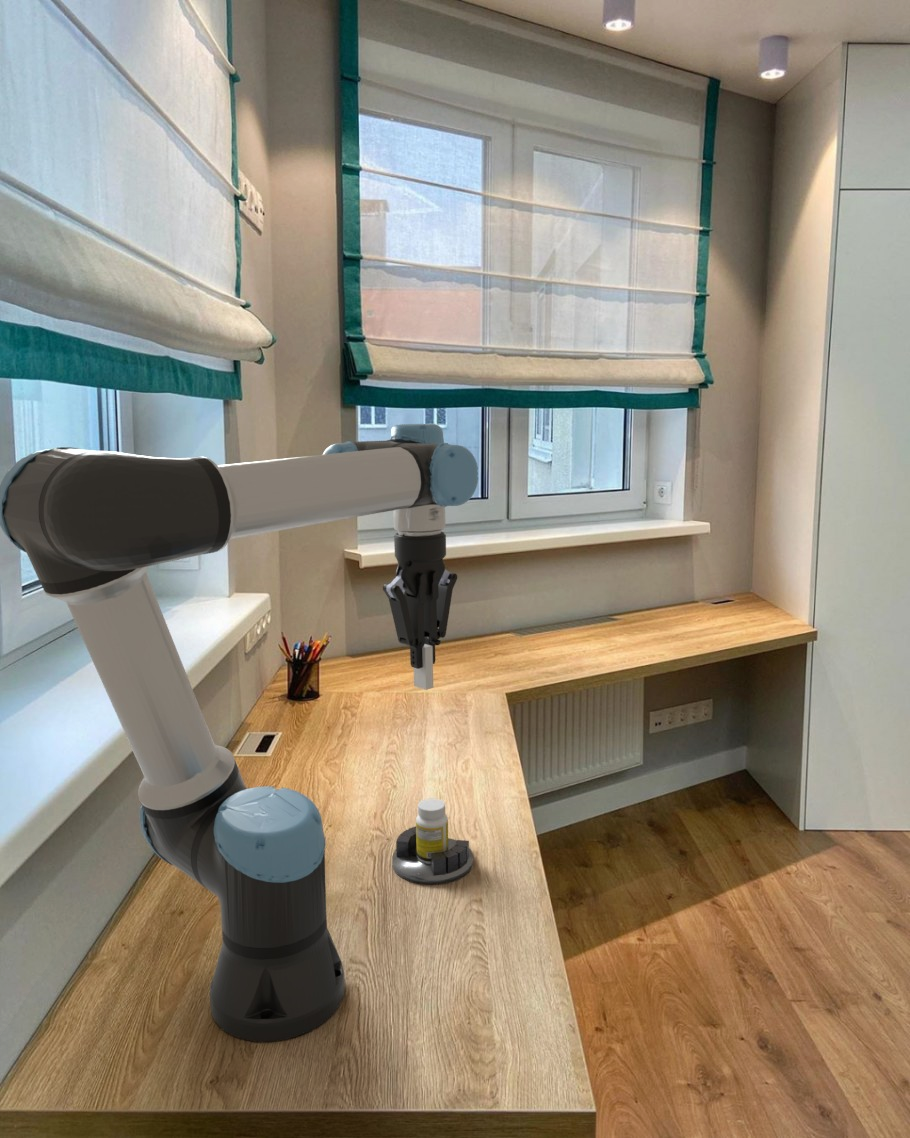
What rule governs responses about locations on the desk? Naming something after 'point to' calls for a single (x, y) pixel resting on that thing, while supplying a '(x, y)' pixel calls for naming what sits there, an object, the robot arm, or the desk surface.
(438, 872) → the toothed grey disc
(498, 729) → the desk surface
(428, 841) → the supplement bottle
